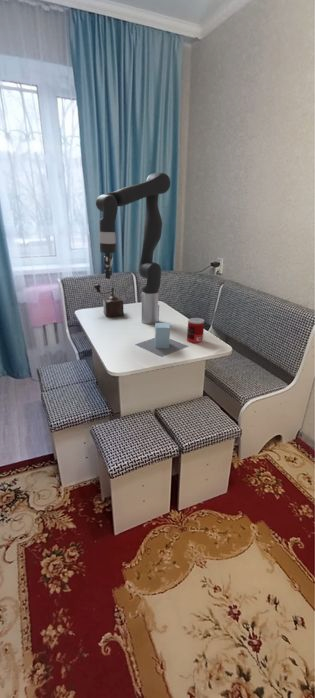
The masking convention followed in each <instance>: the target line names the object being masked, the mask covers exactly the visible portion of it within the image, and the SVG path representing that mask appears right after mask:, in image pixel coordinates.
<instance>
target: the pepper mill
mask: <svg viewBox="0 0 315 698" xmlns="http://www.w3.org/2000/svg"><path fill="white" fill-rule="evenodd" d="M93 289H95V291H96V292H95V293H98V294H100V295H105V294H109V293H111V294H110V296H108V297H103V298H102V302H103V303H102V305H103V312H102V313H103V315H104V316H105V317H106V318H116V317H117V318H119V317H124V300H123V299H122V298H121V297H120V296H116V295H114V294H115V293H114V292H115V288H114V287H111V290H109V291H108V290H107V291H103V292H102V291H101V285H100V284H99V283H96V284H94V286H93Z"/></svg>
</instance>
